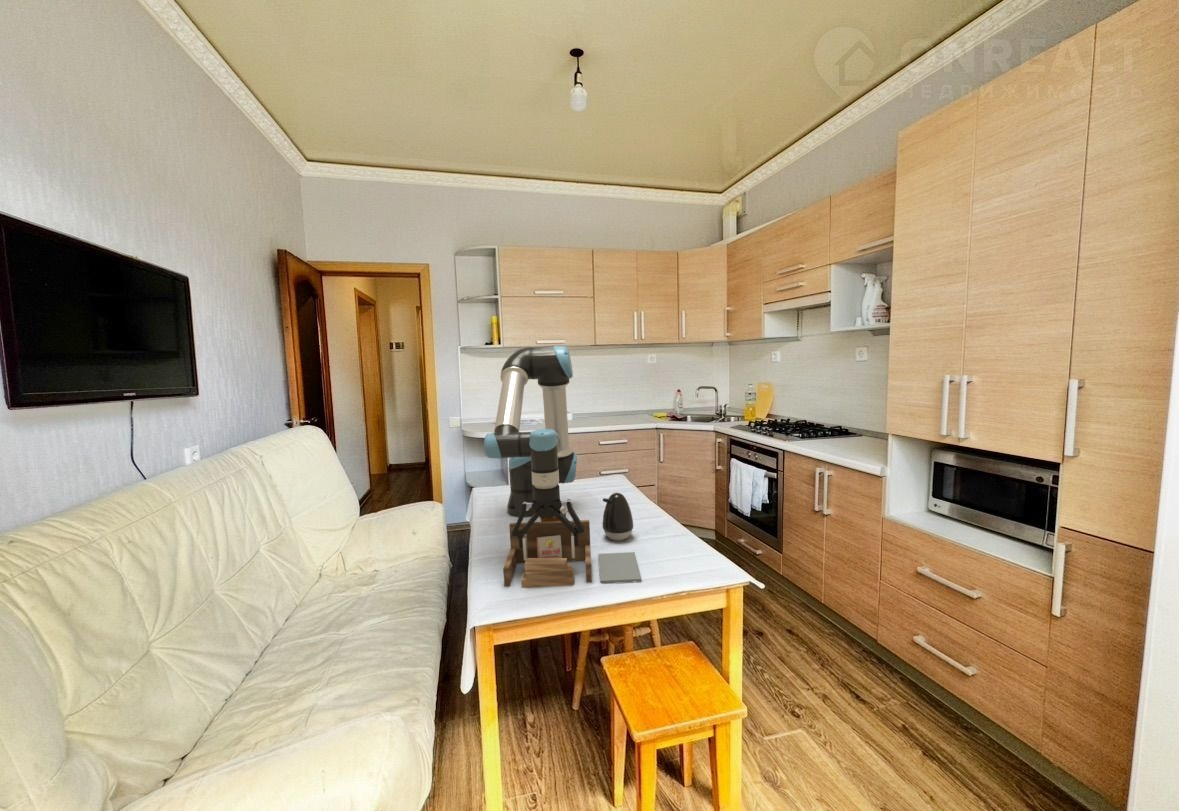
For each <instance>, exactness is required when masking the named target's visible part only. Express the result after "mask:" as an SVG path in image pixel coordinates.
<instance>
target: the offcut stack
mask: <svg viewBox="0 0 1179 811" xmlns="http://www.w3.org/2000/svg"><path fill="white" fill-rule="evenodd" d="M524 571H525V572H523V573H522V576H521V580H520V582H521V588H531V587H532V588H535V587H536V588H537V587H556V586H559V587H560V586H574V585H575V570H574V568H573V563H568V562H567V558H527V560H526V562H525V564H524Z"/></svg>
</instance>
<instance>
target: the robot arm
mask: <svg viewBox="0 0 1179 811" xmlns="http://www.w3.org/2000/svg"><path fill="white" fill-rule="evenodd" d="M570 355H571V353H570V351H569V349H568V348H567V347H566V346H564V345H563V346H560V345H559V346H557V345H551V346H547V345H546V346H534V347H532V346H531V347H530V346H528V347H523V348H520V349H518V350H517V351H515V352H513V353H512V354H511V355H509V357H508V358H507V360H506V361H505V362H504V363H503V366H502V368H501V370H500V381H501V388H500V394H499V395H500V396H499V400H498V406H497V413H496V419H495V423H494V424H495V425H494V429H493V430H494V431H493V432H491V433H487V434H486V435H485V437H484V440H483V449H484V454H485V456H486V457H487V458H489V459H508V471H509V473H508V474H509V486H510V494H509V498H508V501H507V504H506V509H507V514H508V515H510V516H513V517H518V518H517V521H516V522H515V523H516V525H515V527H514V529H513V532H512V536H517V537H518V538H519V547H520V548H523V554H524V560H527V557H528V552H527V535H526V534H525V533H526V532H527V531H528V529H529V528H530V527H531V526H532V524H533V523H534V522H537V520H538V518H540V517H541V518H553V517H556V518H557V519H559V520H560V521H561V522H562V523H563V524H564V525H565V526H566V527H567V528H568V529H569V530H570V531H571V546H572V558H575V546H578V534H580V533H583V532H584V526H583V525H582V523H581V521H580V520H581V519H580V518H579V515H577V512H576V511H575V509H574V507H573V504H572V500H571V499H570V498H568V499H567V500H564V501H561V495H560V494H561V491H560V485H559V484H562V485H564V484H568V483H569V484H570V483H573V482H575V480H576V476H577V475H576V473H577V464H578V462H577V461H578V453H577V452H574V448H573V447H571V446H570V442H569V425H568V424H569V423H568V406H567V389H566V388H567V386H568V385H569V384H570V379H572V378H573V377H574V372H573V365H572V359H571V356H570ZM529 380H537V385H538V386H539V387H540V388H542V398H543V402H542V403H543V412H544V414H543V415H544V428H541V429H535V430H532V431H520V426H521V419H522V418H521V417H522V409H523V401H524V400H523V399H524V391H525V386H526V384H528V381H529ZM562 506H564V507H565V509H567V512H568V514H569V515H570V517H571V519H572V520H573V521H574V523H575V524H576V526H577V528H576V527H575V526H574V525H573V524H572V523H571V522H570V521H571V520H569V518H568V517H567V516H566V517H565V516H564V515H563V513H562V512H561V511H560V508H561V507H562ZM525 517H530V518H529V519H528V521H527V522H525V523H526V524H525V526H524V527H523V528H522V529H521V530H520V531H519V530H518V529H519V527H520V525H521V523H523V520H524V518H525ZM541 518H540V519H541ZM524 534H525V535H524Z"/></svg>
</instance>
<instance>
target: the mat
mask: <svg viewBox="0 0 1179 811" xmlns="http://www.w3.org/2000/svg"><path fill="white" fill-rule="evenodd" d="M597 555H598V556H597V557H598V567H599V568H598V570H599V582H600V583H604V584H615V583H614V582H626V583H634V582H633V581H642V580H643V579H642V575H641V572H640V568H639V563H638V560H637V555H636V553H635V551H633V552H632V551H628V552H609V553H607V552H606V553H604V552H603V553H598V554H597Z"/></svg>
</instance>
